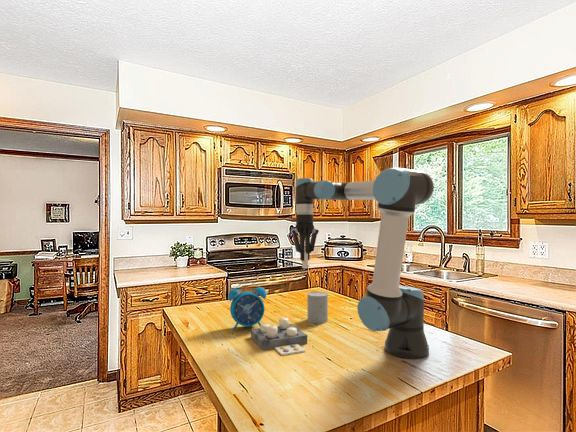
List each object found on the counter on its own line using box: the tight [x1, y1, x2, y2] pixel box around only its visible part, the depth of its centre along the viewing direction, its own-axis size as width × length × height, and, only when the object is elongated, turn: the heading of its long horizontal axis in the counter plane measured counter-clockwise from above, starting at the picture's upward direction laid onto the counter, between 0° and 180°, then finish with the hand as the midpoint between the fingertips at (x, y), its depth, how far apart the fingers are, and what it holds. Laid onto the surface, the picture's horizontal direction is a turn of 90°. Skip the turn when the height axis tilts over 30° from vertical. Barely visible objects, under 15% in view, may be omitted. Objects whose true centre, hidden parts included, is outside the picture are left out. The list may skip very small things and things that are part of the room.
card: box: [274, 344, 306, 357], centre depth 128 cm, size 7×9×1 cm
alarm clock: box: [227, 280, 267, 332], centre depth 153 cm, size 17×10×20 cm, turn 104°
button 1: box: [259, 323, 271, 333], centre depth 141 cm, size 4×4×4 cm
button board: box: [250, 323, 308, 351], centre depth 138 cm, size 15×18×3 cm
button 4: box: [287, 327, 298, 337], centre depth 136 cm, size 4×4×4 cm
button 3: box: [278, 317, 290, 329], centre depth 144 cm, size 4×4×4 cm
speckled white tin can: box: [306, 291, 329, 324], centre depth 164 cm, size 10×10×12 cm
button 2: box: [267, 325, 278, 338], centre depth 133 cm, size 4×4×4 cm
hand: (305, 268), depth 153 cm, fingers closed
